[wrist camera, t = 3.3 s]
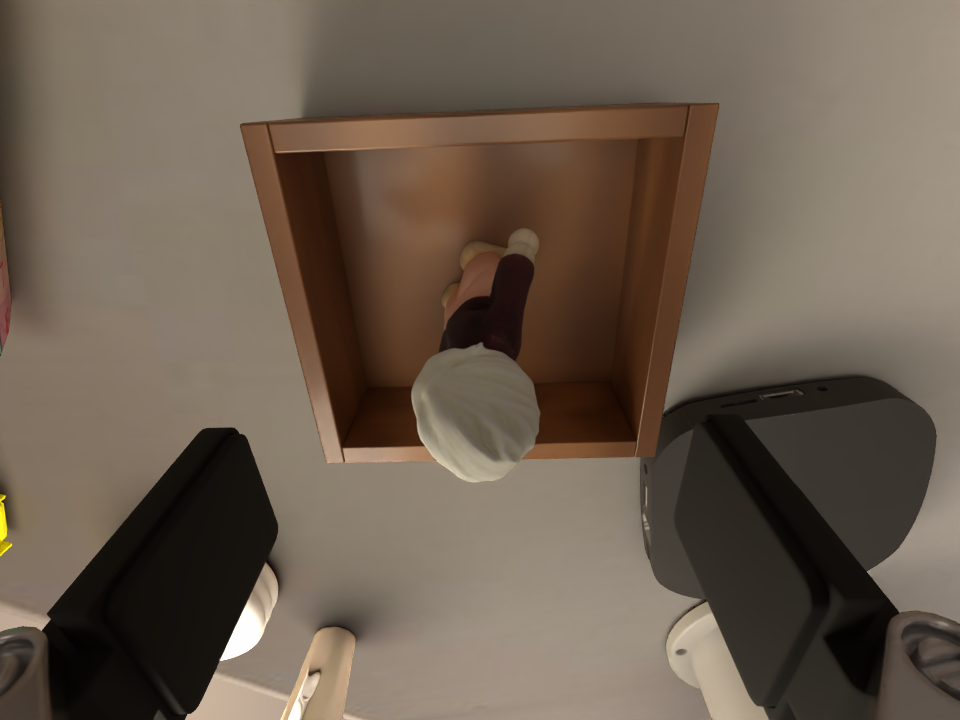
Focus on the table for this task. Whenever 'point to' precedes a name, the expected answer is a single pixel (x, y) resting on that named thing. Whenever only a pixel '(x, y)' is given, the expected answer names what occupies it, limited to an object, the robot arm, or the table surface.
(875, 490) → the media streaming box
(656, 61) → the table surface
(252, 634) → the white short cylinder
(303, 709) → the milkshake
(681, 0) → the table surface
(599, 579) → the table surface
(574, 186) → the crate
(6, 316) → the puzzle game
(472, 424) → the grandmother figurine
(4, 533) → the yellow toy chassis
